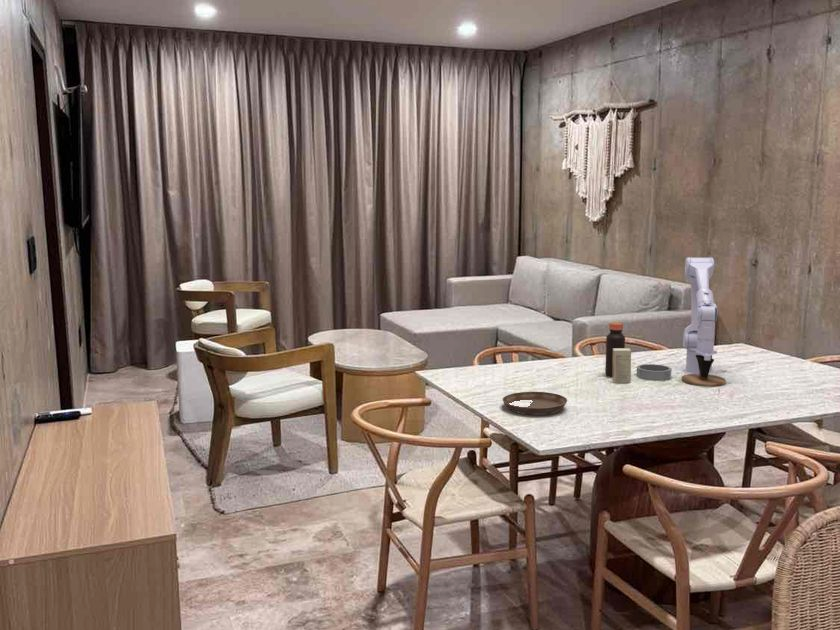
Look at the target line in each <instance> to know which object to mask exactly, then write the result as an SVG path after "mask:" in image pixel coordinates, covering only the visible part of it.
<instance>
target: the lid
mask: <svg viewBox="0 0 840 630" xmlns="http://www.w3.org/2000/svg"><path fill="white" fill-rule="evenodd" d="M681 379H682V381H684V382H686V383H685V384H687V383H689V384H688V385H691V384H694V385H693V386H695V385H701V386H716V387H720V386H719V385H721V386H724V385H723V384H725V383H726V381H727V379H725V378H724V377H722V376H718V375H714V374H708V377H701V373H700V371H699V374H692V373H689V374H684V375H681Z"/></svg>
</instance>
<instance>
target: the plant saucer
mask: <svg viewBox="0 0 840 630" xmlns="http://www.w3.org/2000/svg"><path fill="white" fill-rule="evenodd" d="M520 400H532V401H533V402H532V403H531V402H530V403H531V404H530V406H528V407H519V406H514V405H510V404H509V403H512V402H514V401H520ZM502 402H503V404H504V405H505V406H506V408H508V409H509V410H510V411H512V410H513V411H512V412H514V411H515V412H514V413H516V412H519V413H518V414H520V413H524V414H523V415H526V414H533V415H532V416H543V414H547V415H552V414H555V412H556V413H558V412H560V411H561V410H562V409H563V408H564V407H565V406H566V405H567V403H568V398H567V397H566V396H563V395H560V394H557V393H554V392H553V393H552V392H546V391H520V392H514V393H510V394H507V395H505V396H504V397H502Z"/></svg>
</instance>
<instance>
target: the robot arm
mask: <svg viewBox="0 0 840 630" xmlns="http://www.w3.org/2000/svg"><path fill="white" fill-rule="evenodd" d="M684 262H685V263H684V277H685V280H686V281H688V282H689V283H690V295H691V296H690V297H691V298H690V308H691V309H690V311H691V313H690V314H691V315H690V317H691V318H690V322H691V323H690V324H689V325H688V326H687V327H684V329H683V335H682V347H683V348H684V349H685V350H686V361H685V369H683V370H680V371H681V372H683V373H689V374H699V371H700V373H701V377H708V374H709V373H713V372H714V371H713V370H712V367H713V363H714V362H715V359H714V358H713V356H714V354H715V355H716V354H718V352H717V350H714V346H715V327H716V326H715V325H716V322H717V320H718V314H719V313H718V306H717V304H716V303H715V300H714V293H713V291H712V290H711V289H710V284H709V283H710V280H711V278H712V276H713V273H714V270H715V260H714V258H713V257H711V256H710V257H690V256H689V257H686V258H685V261H684ZM709 375H710V374H709Z"/></svg>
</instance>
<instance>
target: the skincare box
mask: <svg viewBox="0 0 840 630" xmlns="http://www.w3.org/2000/svg"><path fill="white" fill-rule="evenodd" d="M611 379H612V382H613V384H628V383H629V384H630V383H632V349H630V348H629V347H628V348H626V347H625V348H613V366H612V377H611Z"/></svg>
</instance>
